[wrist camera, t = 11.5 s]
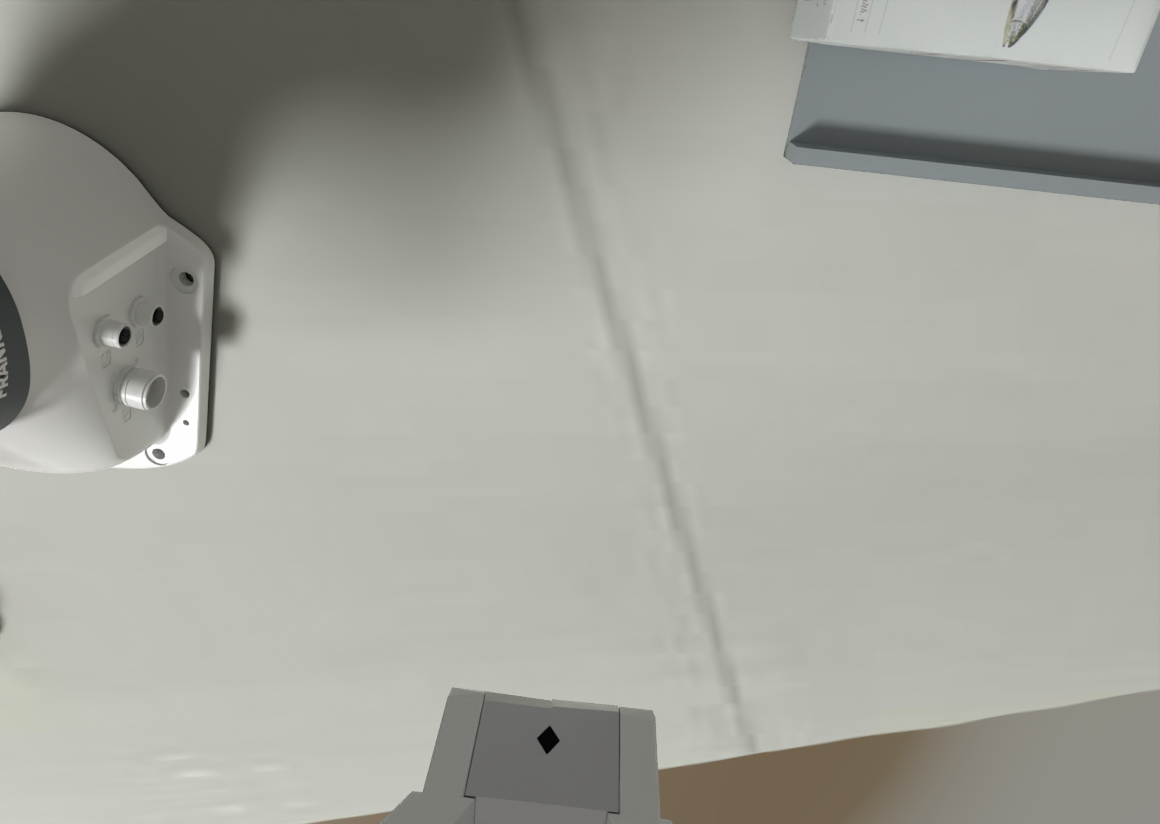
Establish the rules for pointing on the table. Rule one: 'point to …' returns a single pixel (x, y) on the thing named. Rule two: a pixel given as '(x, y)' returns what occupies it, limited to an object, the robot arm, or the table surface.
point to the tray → (982, 122)
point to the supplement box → (988, 30)
